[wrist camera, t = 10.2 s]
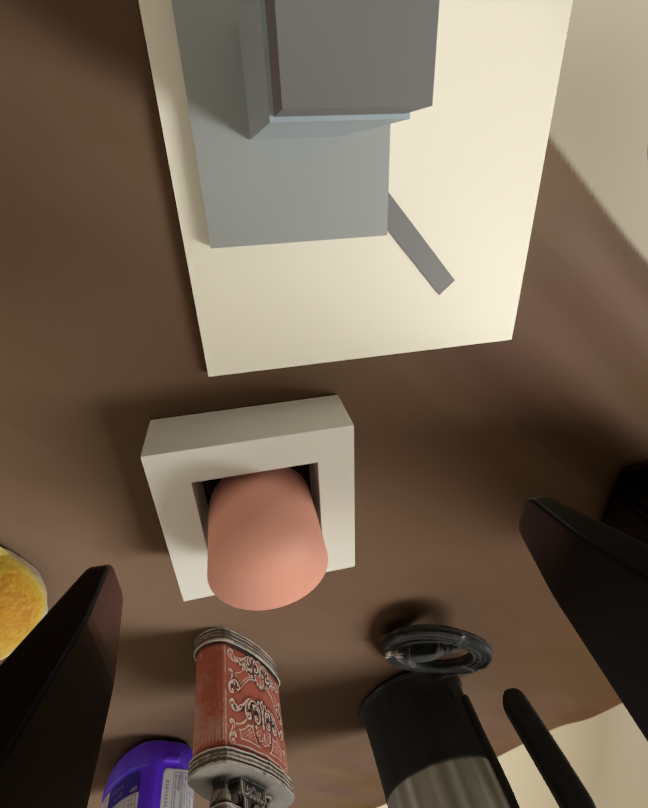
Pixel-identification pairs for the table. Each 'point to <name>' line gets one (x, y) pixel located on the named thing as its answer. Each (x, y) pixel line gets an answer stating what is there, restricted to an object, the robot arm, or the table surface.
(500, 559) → the table surface
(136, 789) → the bottle
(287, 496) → the button
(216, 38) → the sheet
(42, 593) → the bread roll
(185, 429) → the button housing
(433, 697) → the milk frother
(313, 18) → the grey block
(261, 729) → the lighter
